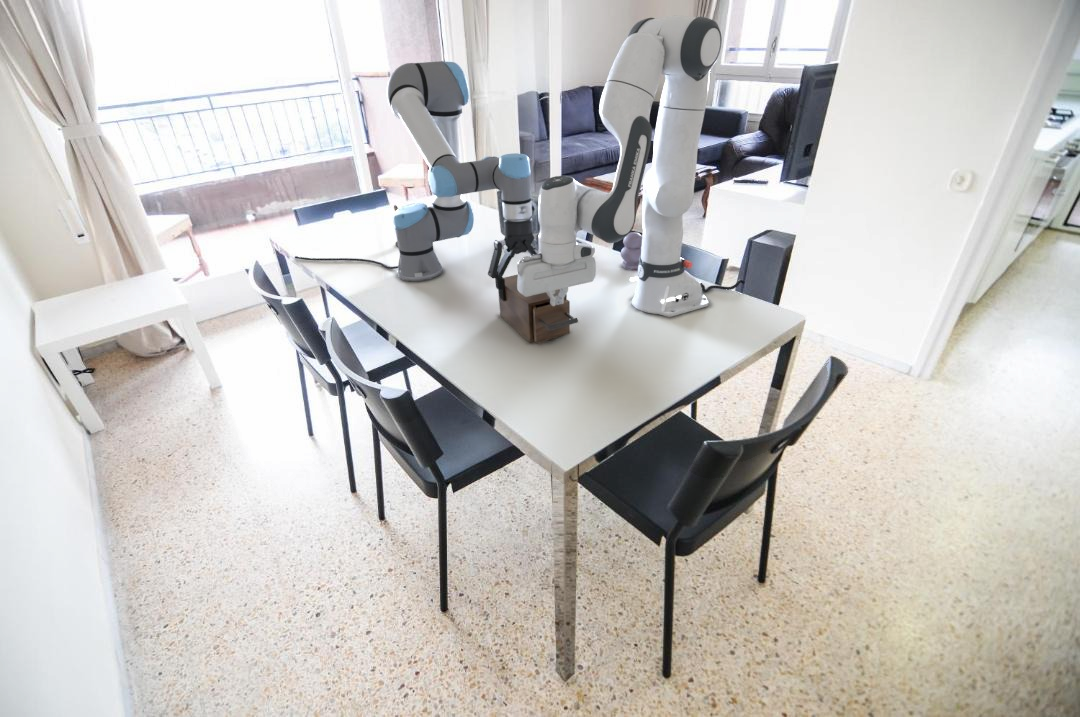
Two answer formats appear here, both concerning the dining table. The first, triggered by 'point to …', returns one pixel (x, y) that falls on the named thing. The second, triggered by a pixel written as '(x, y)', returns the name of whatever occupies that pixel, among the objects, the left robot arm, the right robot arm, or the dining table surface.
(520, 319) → the cabinet
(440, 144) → the left robot arm
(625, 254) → the cat figurine
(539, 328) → the drawer
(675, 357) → the dining table surface
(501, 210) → the concrete block
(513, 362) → the dining table surface
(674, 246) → the right robot arm
